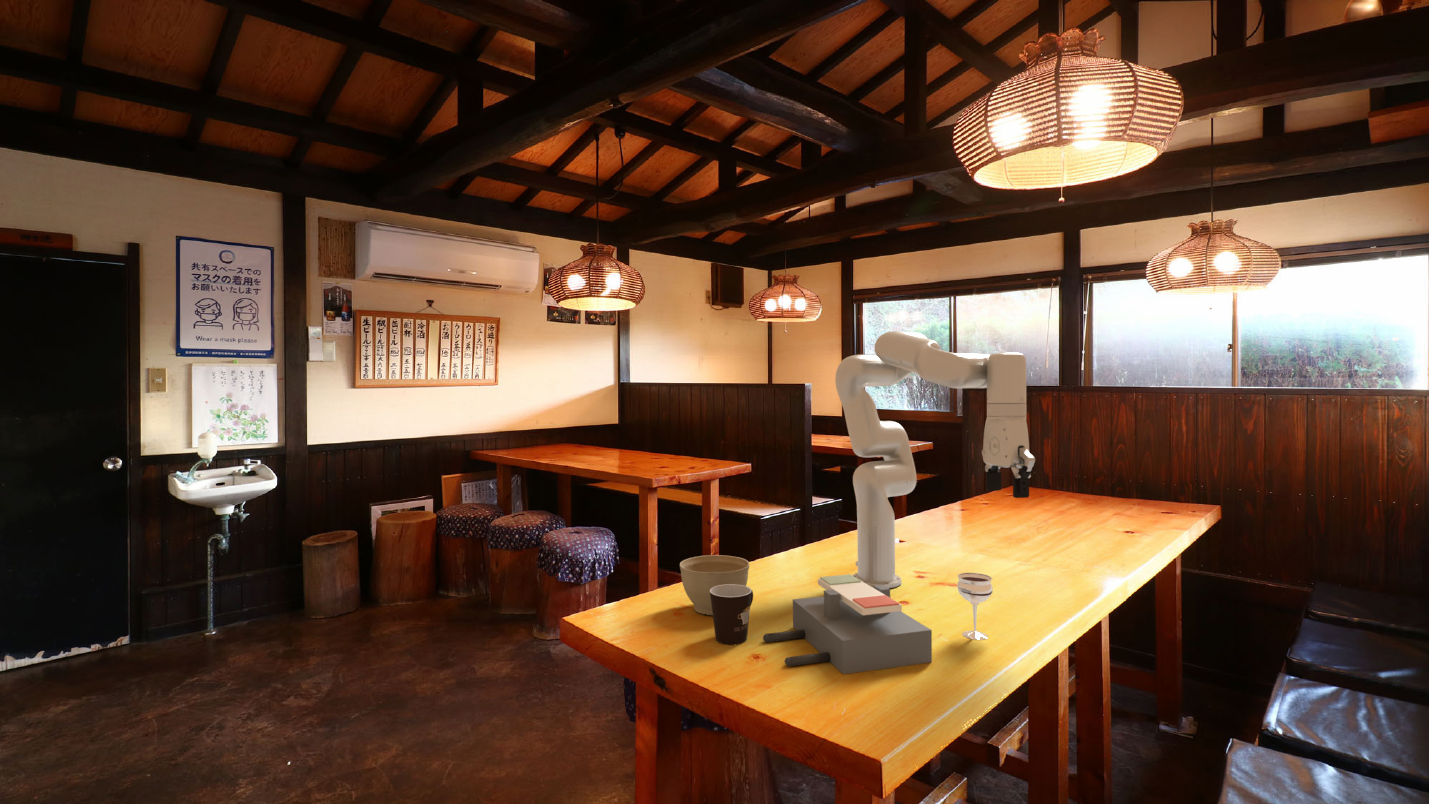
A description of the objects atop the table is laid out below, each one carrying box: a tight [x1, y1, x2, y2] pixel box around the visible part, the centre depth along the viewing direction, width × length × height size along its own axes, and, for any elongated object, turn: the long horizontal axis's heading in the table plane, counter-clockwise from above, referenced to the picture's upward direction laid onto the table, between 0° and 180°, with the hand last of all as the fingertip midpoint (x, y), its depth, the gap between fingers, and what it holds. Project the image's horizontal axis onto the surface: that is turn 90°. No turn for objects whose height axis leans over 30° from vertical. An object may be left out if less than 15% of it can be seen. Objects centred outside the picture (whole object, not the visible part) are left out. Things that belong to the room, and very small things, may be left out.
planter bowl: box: [679, 554, 750, 616], centre depth 152 cm, size 16×16×11 cm
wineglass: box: [956, 572, 993, 641], centre depth 134 cm, size 7×7×12 cm
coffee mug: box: [710, 584, 754, 646], centre depth 134 cm, size 12×9×10 cm
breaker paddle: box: [817, 573, 903, 615], centre depth 130 cm, size 20×8×2 cm, turn 15°
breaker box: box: [762, 585, 933, 675], centre depth 129 cm, size 24×27×11 cm
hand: (1006, 493), depth 137 cm, fingers open, 9 cm apart
